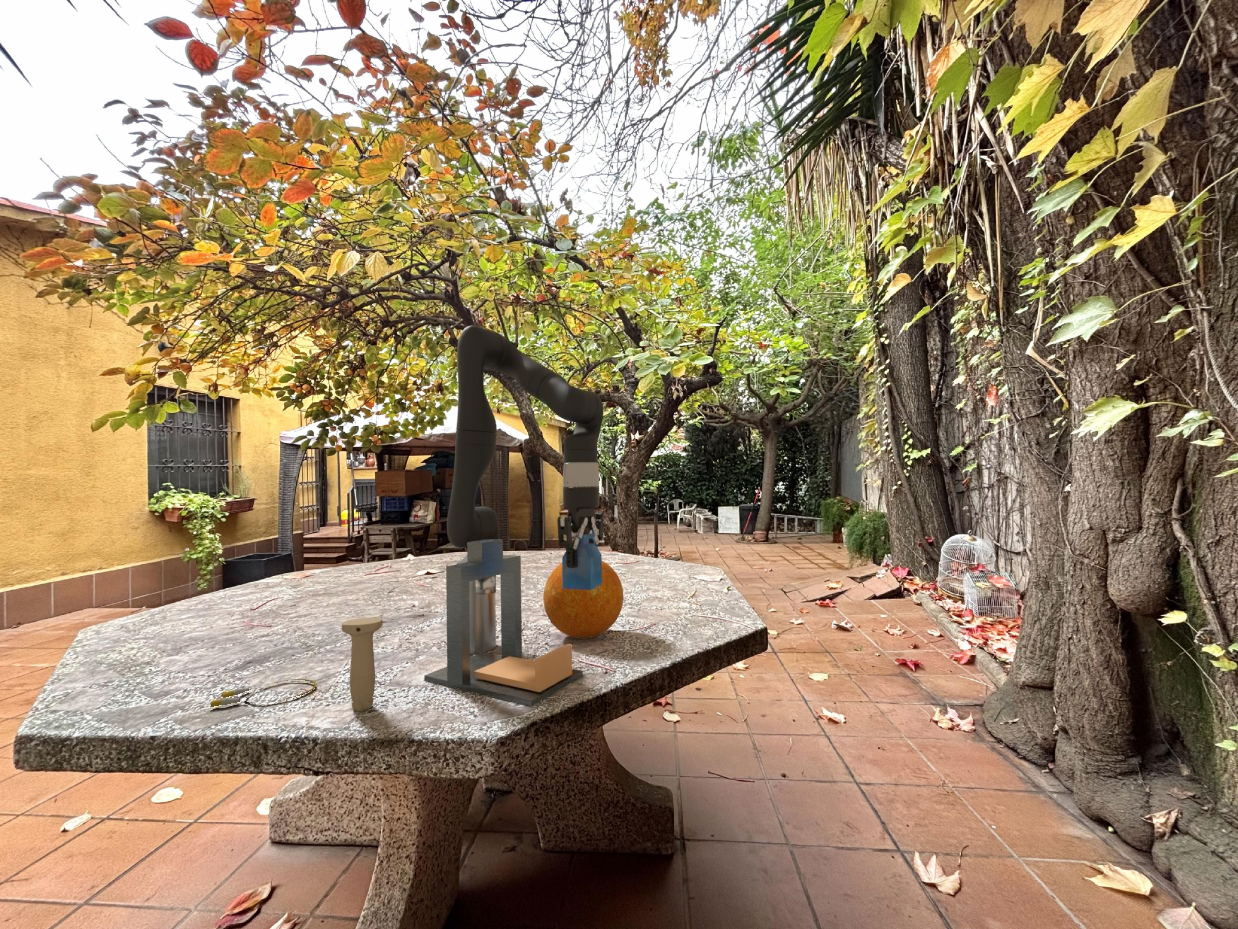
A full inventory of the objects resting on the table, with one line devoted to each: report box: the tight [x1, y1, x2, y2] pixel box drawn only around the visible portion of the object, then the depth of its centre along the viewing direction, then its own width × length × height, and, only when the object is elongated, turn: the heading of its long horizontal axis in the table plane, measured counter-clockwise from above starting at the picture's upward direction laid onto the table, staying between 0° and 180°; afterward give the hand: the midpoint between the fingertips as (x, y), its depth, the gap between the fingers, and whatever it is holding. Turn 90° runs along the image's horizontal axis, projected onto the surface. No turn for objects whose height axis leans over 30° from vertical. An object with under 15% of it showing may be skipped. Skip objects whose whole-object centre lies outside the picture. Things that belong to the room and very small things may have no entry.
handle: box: [341, 617, 383, 712], centre depth 93 cm, size 5×6×15 cm
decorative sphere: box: [542, 560, 624, 639], centre depth 133 cm, size 20×20×20 cm
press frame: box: [423, 539, 584, 707], centre depth 106 cm, size 27×17×27 cm, turn 60°
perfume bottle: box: [561, 528, 603, 590], centre depth 110 cm, size 6×6×12 cm
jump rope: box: [210, 678, 318, 708], centre depth 99 cm, size 12×16×2 cm
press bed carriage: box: [474, 643, 573, 692], centre depth 103 cm, size 16×10×6 cm, turn 60°
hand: (582, 564), depth 110 cm, fingers closed on perfume bottle, 6 cm apart
